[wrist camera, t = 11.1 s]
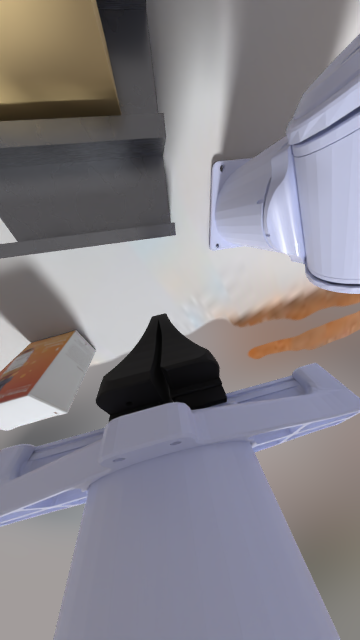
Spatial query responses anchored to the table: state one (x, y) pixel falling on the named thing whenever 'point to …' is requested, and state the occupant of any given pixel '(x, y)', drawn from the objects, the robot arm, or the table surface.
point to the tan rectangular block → (54, 61)
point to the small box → (43, 379)
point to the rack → (91, 158)
